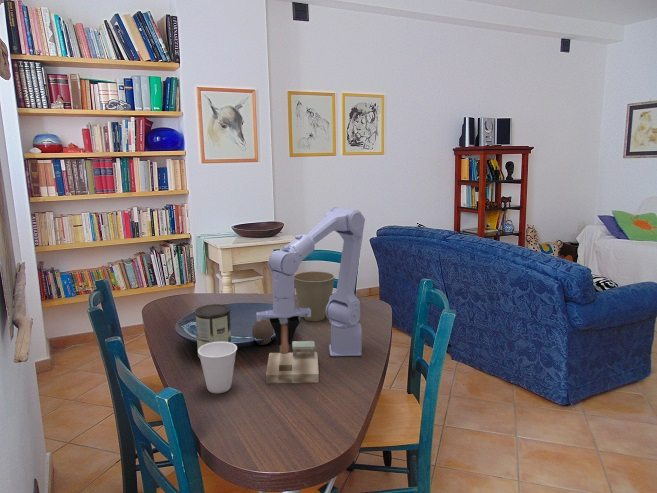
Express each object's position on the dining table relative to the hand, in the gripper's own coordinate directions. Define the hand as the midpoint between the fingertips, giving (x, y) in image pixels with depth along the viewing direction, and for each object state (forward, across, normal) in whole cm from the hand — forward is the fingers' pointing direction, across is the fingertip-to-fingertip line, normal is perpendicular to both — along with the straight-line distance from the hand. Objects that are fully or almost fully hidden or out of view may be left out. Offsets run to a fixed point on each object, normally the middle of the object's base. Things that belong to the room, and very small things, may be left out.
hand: (284, 343), depth 133 cm
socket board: (+9, -3, -2) cm, 10 cm away
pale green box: (+9, -7, -6) cm, 13 cm away
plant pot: (+10, -19, -43) cm, 48 cm away
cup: (+10, +18, +3) cm, 20 cm away
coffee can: (+10, +18, -20) cm, 29 cm away
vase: (+10, +3, -25) cm, 27 cm away
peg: (+3, 0, 0) cm, 3 cm away
